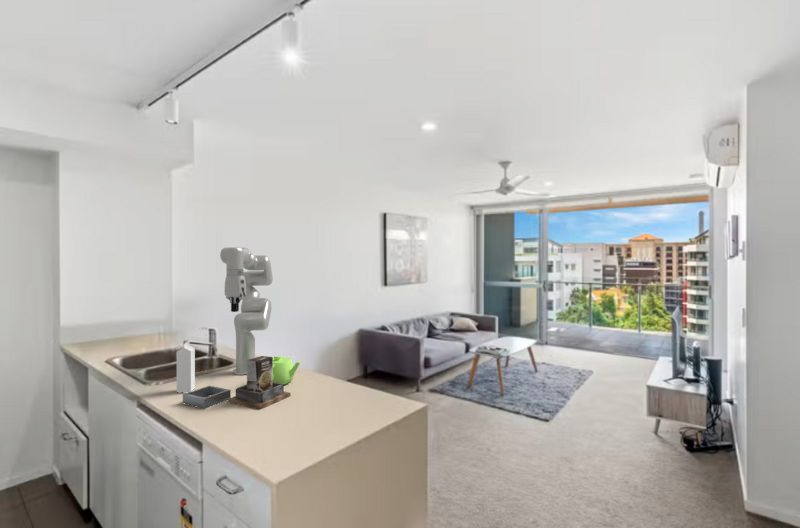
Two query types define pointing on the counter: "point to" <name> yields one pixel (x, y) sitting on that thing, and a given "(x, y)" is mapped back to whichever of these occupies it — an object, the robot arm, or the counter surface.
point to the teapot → (283, 369)
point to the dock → (259, 396)
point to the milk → (186, 369)
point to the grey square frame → (198, 400)
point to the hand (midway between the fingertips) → (234, 311)
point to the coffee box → (259, 373)
